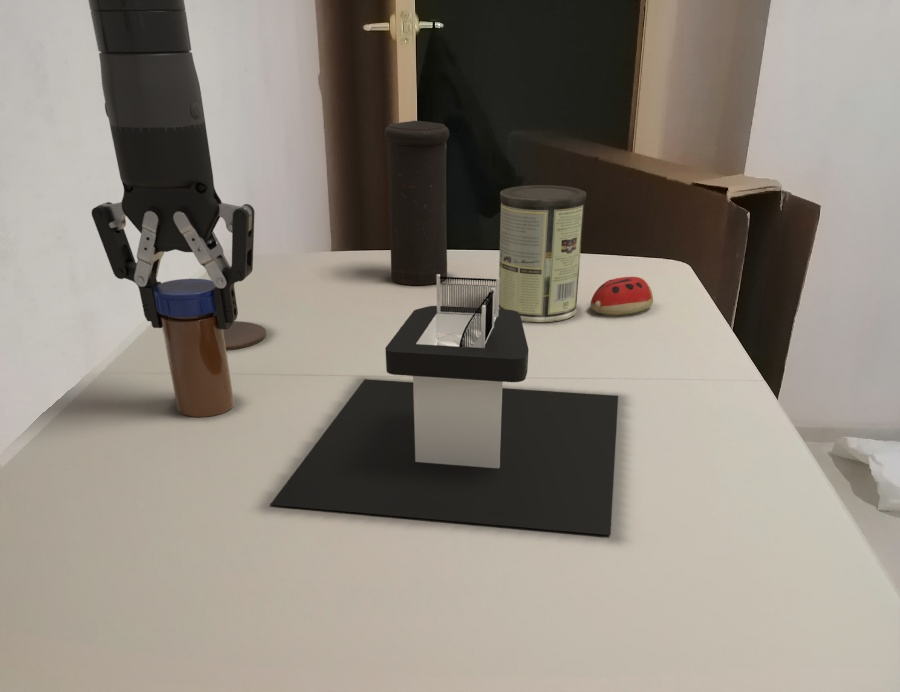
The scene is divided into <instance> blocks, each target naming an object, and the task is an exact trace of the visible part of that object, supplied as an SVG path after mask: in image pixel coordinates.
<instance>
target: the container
mask: <svg viewBox="0 0 900 692" xmlns="http://www.w3.org/2000/svg"><path fill="white" fill-rule="evenodd" d="M384 136H385V139H386V141H387V143H388V173H389V174H388V176H389V230H390V231H389V232H390V233H389V234H390V276H391V277H390V279H391V280H392V281H394V282H396V283H398V284H401V285H412V286H413V285H415V286H423V285H425V286H426V285H433V284H437V274H440V277H448V243H447V239H448V237H447V236H448V235H447V142H448V139H449V138H450V130H449V128H448V126H446V125H445V124H444V123H440V122H438V123H437V122H433V121H432V122H431V121H424V120H408V121H400V122H395V123H389V124H388V125H387V126H386V127H385V129H384ZM444 281H446V279H444V280H443V279H442V282H444ZM440 283H441V279H440Z"/></svg>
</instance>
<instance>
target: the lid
mask: <svg viewBox="0 0 900 692" xmlns="http://www.w3.org/2000/svg"><path fill="white" fill-rule="evenodd" d="M215 287H216V286H215V285H214V283H213V282H212V280H211V279H206V278H180V279H172V280H168V281H164V282H161V283H160V284H158V285H156V286H155V287H154V288H153V293H154V298H155V304H156V309H157V312H158V313H160V314H162V315H166V316H171V317H193V316H200V315H205V314H209V313H212V312H215V311H216V307H215V301H214V295H213V288H215Z"/></svg>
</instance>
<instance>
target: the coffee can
mask: <svg viewBox="0 0 900 692" xmlns="http://www.w3.org/2000/svg"><path fill="white" fill-rule="evenodd" d="M499 198H500V220H499V221H500V223H499V224H500V226H499V262H498V263H499V265H498V266H499V268H498V278H500V279H499V309H504V310H514V311H517V312H518V313H519V315H520V316H521V320H522V322H527V323H554V322H559V321H565V320H567V319H570V318H572V317H574V316H576V314H577V312H578V311H577V305H578V304H577V303H578V293H579V291H578V290H579V277H580V264H581V263H580V262H581V251H582V250H581V249H582V240H583V226H584V214H585V213H584V212H585V201H586V199H587V192H586V191H585V190H583V189H580V188H577V187H573V186H565V185H552V184H533V185H532V184H531V185H518V186H512V187H508V188H505V189H504V188H503V189H502V190H501V191H500V192H499Z"/></svg>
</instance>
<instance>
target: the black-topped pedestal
mask: <svg viewBox="0 0 900 692" xmlns="http://www.w3.org/2000/svg"><path fill="white" fill-rule="evenodd" d="M440 279H441V282H440ZM442 279H443V281H447V283H445V282H443V281H442ZM444 279H445V280H444ZM499 279H500V278H499V277H496V278H481V277H480V278H479V277H458V276H457V277H456V276H454V277H453V276H447V277H440V274H437V283H436V305H427V306H423V307H420V308H416V309H414V310H413V311H412V312H411V314H410V315H409V316H408V318H407V319H406V320H405V321H404V322H403V324H402V326H401V327H400V328H399V329H398V331H397V332H396V333H395V334H394V336H393V337H392V338H391V339H390V341H389V343H388V344H387V345H386V346H385V367H386V369H385V370H386V373H387V374H389V375H394V376H407V377H412V381H397V380H383V379H367V378H364V379H363V381H362V382H361V383H360V384H359V386H358V387H357V389H356V390H355V391H354V393H353V394H352V395H351V397H350V398H349V399H348V401H347V402H346V403H345V405H344V406H343V407H342V408H341V410H340V411H339V413H338V414H337V415H336V416H335V417H334V419H333V420H332V421H331V423H330V424H329V426H328V427H327V428H326V429H325V431H324V432H323V434H322V435H321V436H320V438H319V439H318V440H317V441H316V443H315V444H314V445H313V447H312V448H311V450H310V451H309V452H308V454H307V455H306V456H305V457H304V459H303V460H302V461H301V463H300V464H299V465H298V467H297V468H296V470H294V472H293V473H292V475H291V476H290V477H289V479H288V480H287V482H286V483H285V484H284V485H283V486H282V488H281V489H280V491H279V492H278V493H277V495H276V496H275V497H274V499H273V500H272V501H271V503H270V506H281V507H291V508H292V507H293V508H304V509H314V510H326V511H337V512H348V513H358V514H359V513H360V514H370V515H382V516H391V517H392V516H393V517H403V518H406V517H407V518H414V519H427V520H437V521H448V522H458V523H459V522H461V523H471V524H483V525H492V526H494V525H495V526H504V527H514V528H515V527H516V528H524V529H525V528H526V529H538V530H549V531H559V532H571V533H581V534H582V533H583V534H594V535H604V536H611V532H612V531H611V530H612V514H613V496H614V478H615V459H616V443H617V441H616V440H617V424H618V407H619V406H618V404H619V395H614V394H613V395H612V394H599V393H597V394H596V393H585V392H583V393H582V392H568V391H567V392H566V391H555V390H552V391H551V390H536V389H523V388H507V387H503V384H504V383H520V382H524V381H525V380H526V378H527V375H528V368H529V350H530V349H529V345H528V341H527V337H526V333H525V329H524V325H523V321H522V320H521V316H520V315H519V313H518V312H517V311H514V310H504V309H499ZM456 281H457V282H456ZM452 282H454V283H452ZM459 282H461V283H459ZM465 282H470V284H466V283H465ZM482 282H484V284H482ZM489 282H491V285H489ZM472 283H473V284H472ZM475 283H477V284H475ZM479 283H480V284H479ZM447 285H450V305H447ZM456 286H457V306H456ZM463 286H466V306H465V288H463ZM472 287H473V298H475V307H474V301H472ZM479 287H480V292H482V301H481V293H479ZM486 287H487V288H486ZM488 288H489V291H488ZM438 335H445V336H441V337H438Z"/></svg>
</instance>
